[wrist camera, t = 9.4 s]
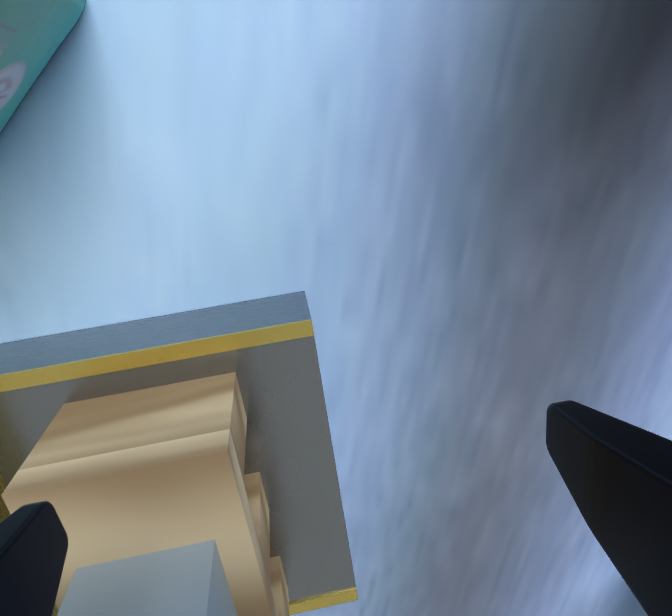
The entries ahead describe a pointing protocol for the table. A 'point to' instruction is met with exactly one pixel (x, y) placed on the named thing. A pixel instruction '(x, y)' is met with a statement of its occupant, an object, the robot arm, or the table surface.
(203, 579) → the grey blue block
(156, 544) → the tan stepped block
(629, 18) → the table surface
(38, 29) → the box
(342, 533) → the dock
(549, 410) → the robot arm
